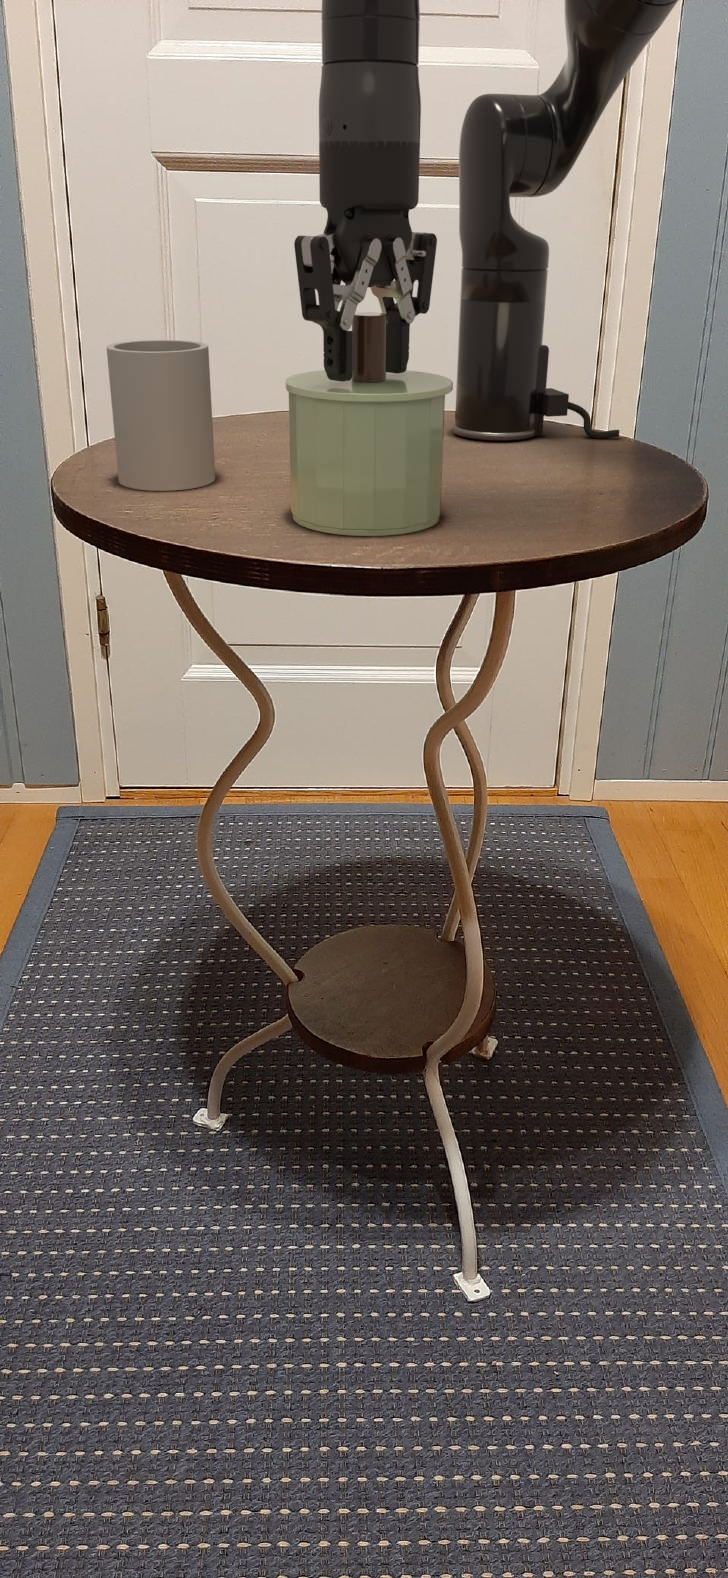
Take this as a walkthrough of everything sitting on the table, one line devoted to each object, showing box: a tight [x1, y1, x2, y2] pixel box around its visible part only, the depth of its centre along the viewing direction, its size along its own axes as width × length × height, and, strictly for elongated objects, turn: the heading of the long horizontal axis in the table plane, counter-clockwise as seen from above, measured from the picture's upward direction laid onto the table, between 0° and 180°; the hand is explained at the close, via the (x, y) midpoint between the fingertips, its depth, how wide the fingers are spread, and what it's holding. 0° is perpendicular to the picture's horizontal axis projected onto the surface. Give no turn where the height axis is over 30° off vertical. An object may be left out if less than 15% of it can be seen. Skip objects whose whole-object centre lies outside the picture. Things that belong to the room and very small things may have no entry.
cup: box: [106, 339, 216, 492], centre depth 107 cm, size 9×9×12 cm
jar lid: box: [284, 311, 454, 402], centre depth 92 cm, size 14×14×6 cm
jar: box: [288, 392, 446, 537], centre depth 96 cm, size 13×13×10 cm
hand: (367, 375), depth 93 cm, fingers open, 6 cm apart
